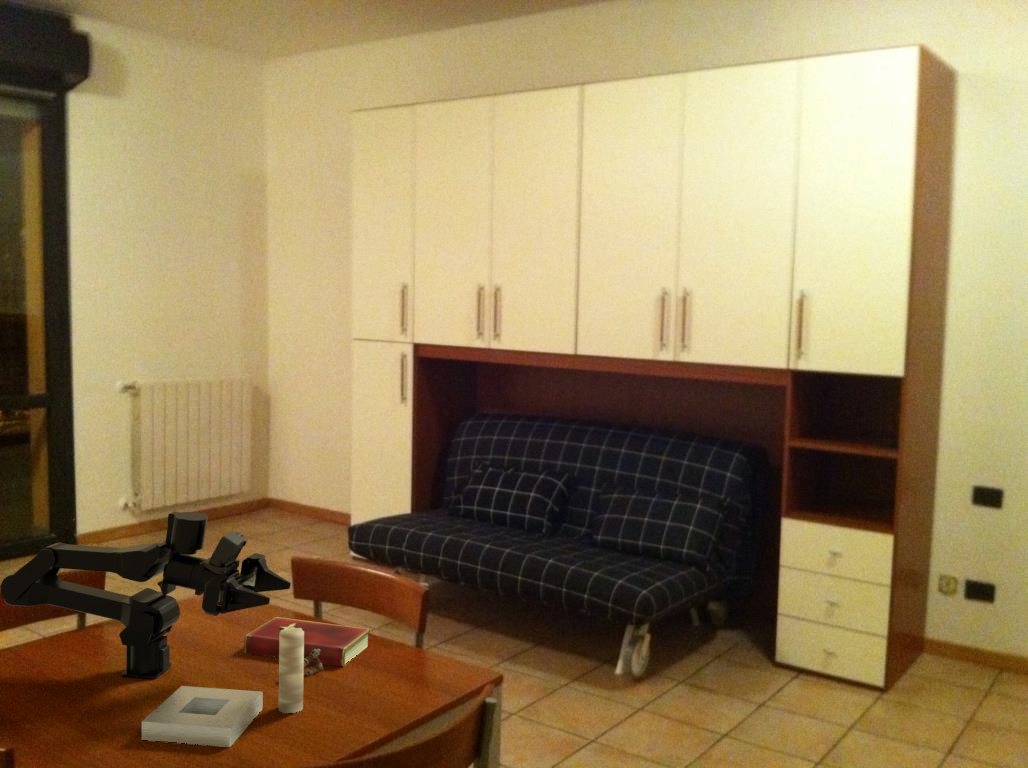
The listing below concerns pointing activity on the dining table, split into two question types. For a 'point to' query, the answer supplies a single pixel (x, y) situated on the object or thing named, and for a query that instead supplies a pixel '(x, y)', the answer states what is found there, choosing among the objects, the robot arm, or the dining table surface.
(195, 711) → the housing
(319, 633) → the hardcover book
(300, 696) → the ball
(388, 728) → the dining table surface
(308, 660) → the wooden post with brackets
